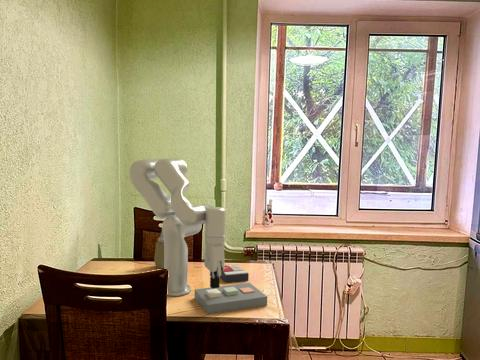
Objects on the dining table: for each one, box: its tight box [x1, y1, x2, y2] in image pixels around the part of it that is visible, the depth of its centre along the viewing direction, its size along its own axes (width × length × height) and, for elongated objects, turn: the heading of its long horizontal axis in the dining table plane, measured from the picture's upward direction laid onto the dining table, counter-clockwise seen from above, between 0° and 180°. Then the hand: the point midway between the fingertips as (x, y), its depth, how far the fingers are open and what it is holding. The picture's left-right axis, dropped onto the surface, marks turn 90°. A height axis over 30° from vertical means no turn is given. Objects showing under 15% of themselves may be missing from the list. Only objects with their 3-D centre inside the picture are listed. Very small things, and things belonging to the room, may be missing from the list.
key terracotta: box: [239, 287, 254, 294], centre depth 163 cm, size 4×4×2 cm
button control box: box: [220, 264, 249, 284], centre depth 189 cm, size 11×4×15 cm
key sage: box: [223, 287, 238, 296], centre depth 160 cm, size 4×4×2 cm
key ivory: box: [206, 289, 221, 298], centre depth 157 cm, size 4×4×2 cm
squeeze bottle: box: [153, 231, 164, 270], centre depth 199 cm, size 8×8×18 cm
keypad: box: [194, 282, 268, 315], centre depth 160 cm, size 24×16×4 cm, turn 114°
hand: (214, 287), depth 156 cm, fingers closed
